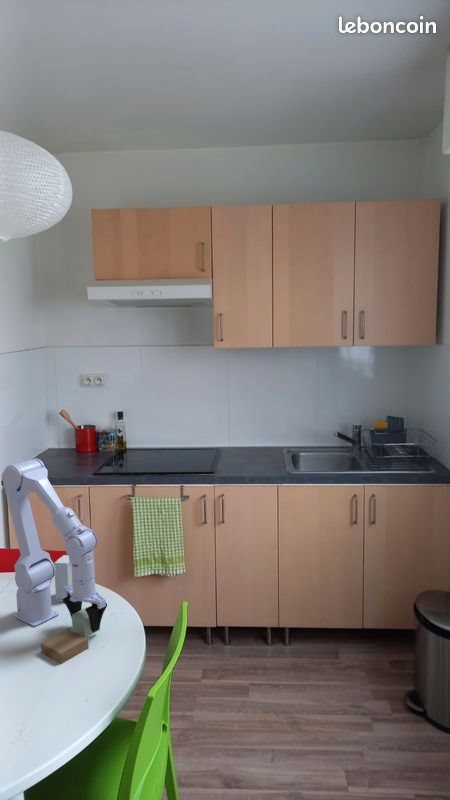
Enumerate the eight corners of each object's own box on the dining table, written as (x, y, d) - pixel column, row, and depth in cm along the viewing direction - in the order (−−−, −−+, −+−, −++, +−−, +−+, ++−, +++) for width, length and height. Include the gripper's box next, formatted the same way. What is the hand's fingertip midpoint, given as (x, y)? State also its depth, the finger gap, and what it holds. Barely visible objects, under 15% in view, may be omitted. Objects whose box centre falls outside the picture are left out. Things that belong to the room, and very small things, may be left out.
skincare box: (69, 602, 165) (66, 563, 163) (55, 601, 166) (53, 562, 164) (78, 593, 171) (76, 555, 169) (65, 592, 171) (63, 554, 170)
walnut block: (41, 654, 139) (40, 643, 139) (68, 639, 146) (67, 628, 145) (61, 665, 135) (61, 653, 134) (88, 649, 141) (87, 638, 140)
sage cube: (72, 632, 148) (71, 614, 148) (87, 624, 152) (86, 607, 152) (84, 638, 145) (83, 620, 145) (100, 630, 149) (99, 612, 149)
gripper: (53, 575, 148) (56, 624, 150) (89, 590, 139) (92, 641, 141) (75, 566, 154) (78, 613, 156) (110, 579, 145) (113, 629, 147)
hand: (86, 626), depth 149 cm, fingers open, 7 cm apart
